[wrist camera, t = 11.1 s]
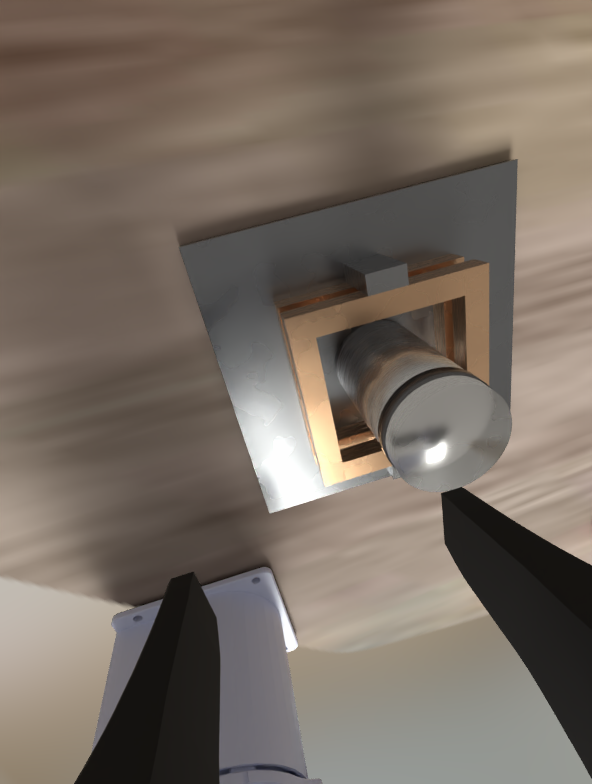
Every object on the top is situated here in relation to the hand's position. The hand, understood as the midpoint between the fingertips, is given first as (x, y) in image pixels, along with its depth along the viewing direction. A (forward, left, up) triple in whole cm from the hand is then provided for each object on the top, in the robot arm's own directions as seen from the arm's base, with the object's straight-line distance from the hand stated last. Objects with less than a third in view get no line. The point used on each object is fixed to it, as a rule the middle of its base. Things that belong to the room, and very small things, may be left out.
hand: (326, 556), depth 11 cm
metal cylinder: (+5, +1, -9) cm, 10 cm away
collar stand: (+5, +1, -9) cm, 11 cm away
